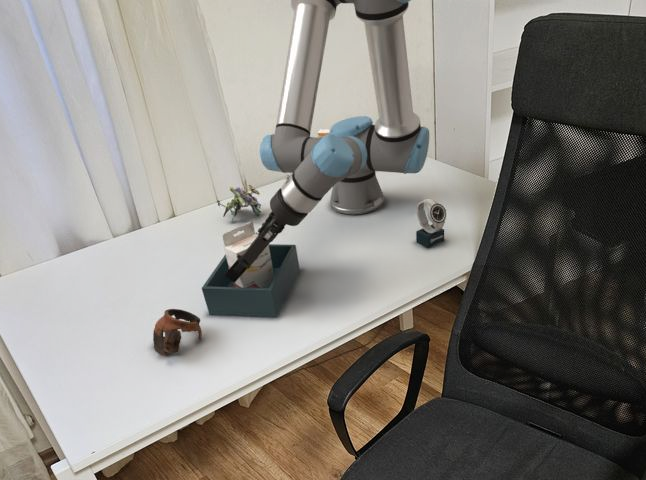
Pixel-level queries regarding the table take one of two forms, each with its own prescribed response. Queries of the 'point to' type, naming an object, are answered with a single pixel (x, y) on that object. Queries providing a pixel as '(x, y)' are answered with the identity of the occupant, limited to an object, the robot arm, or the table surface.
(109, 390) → the table surface
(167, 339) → the brown banded ring
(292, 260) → the tote
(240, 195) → the passion flower
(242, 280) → the ink cartridge box
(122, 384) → the table surface
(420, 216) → the watch
